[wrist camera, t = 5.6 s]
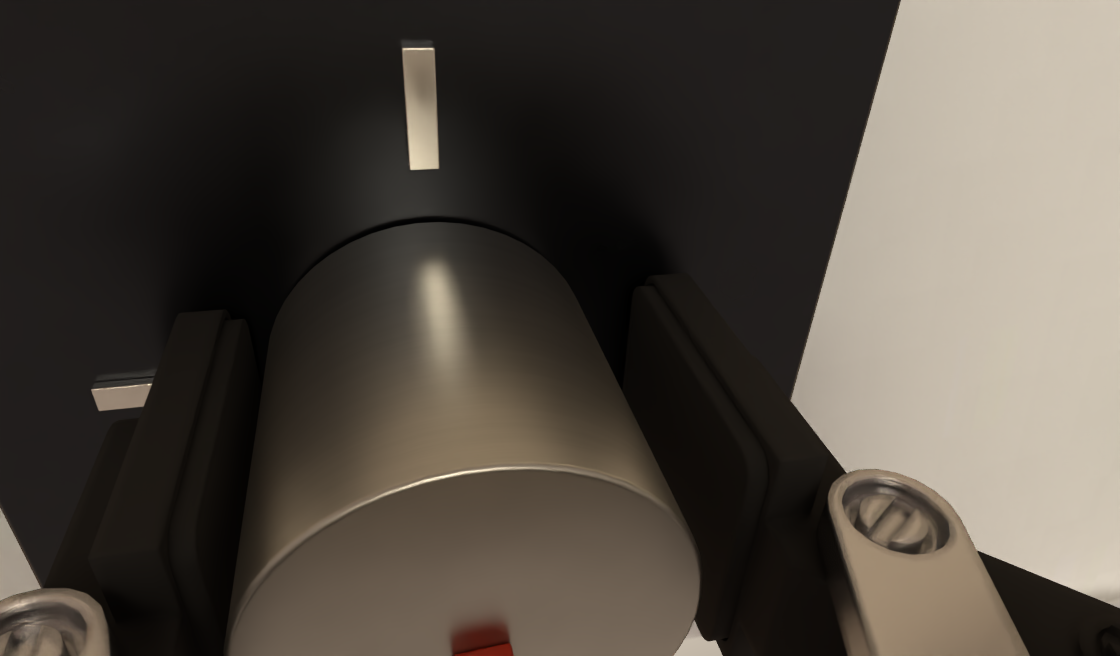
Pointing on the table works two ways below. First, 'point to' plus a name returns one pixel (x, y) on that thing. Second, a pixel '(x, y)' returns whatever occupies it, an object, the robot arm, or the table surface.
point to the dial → (451, 468)
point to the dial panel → (395, 174)
